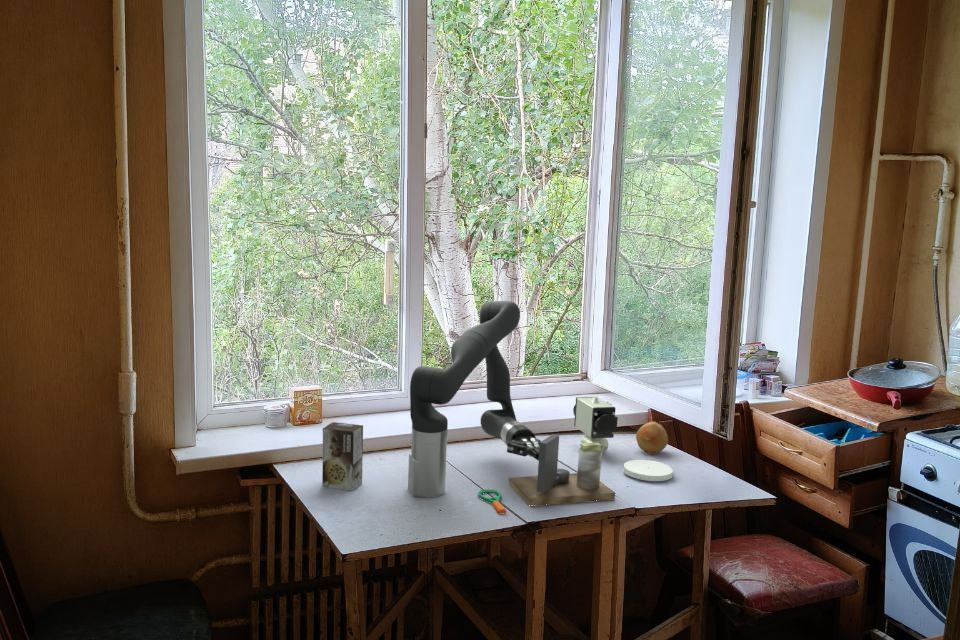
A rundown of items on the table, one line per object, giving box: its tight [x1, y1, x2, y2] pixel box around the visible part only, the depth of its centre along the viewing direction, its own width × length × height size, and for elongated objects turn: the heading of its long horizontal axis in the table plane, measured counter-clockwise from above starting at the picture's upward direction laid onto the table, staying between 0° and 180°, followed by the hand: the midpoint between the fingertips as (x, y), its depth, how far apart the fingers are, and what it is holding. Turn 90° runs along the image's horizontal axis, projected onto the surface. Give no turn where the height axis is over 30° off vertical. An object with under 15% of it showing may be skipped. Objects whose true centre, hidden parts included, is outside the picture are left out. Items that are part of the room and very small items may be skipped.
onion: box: [635, 421, 669, 455], centre depth 247 cm, size 10×10×10 cm
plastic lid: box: [623, 459, 674, 482], centre depth 226 cm, size 14×14×2 cm
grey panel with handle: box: [537, 433, 571, 493], centre depth 205 cm, size 16×5×14 cm, turn 153°
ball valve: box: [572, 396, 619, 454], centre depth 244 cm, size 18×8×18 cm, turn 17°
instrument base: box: [507, 442, 616, 506], centre depth 208 cm, size 24×16×14 cm, turn 108°
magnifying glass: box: [477, 488, 507, 515], centre depth 199 cm, size 15×6×2 cm, turn 15°
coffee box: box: [321, 421, 364, 491], centre depth 205 cm, size 9×6×16 cm
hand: (541, 456), depth 201 cm, fingers closed
